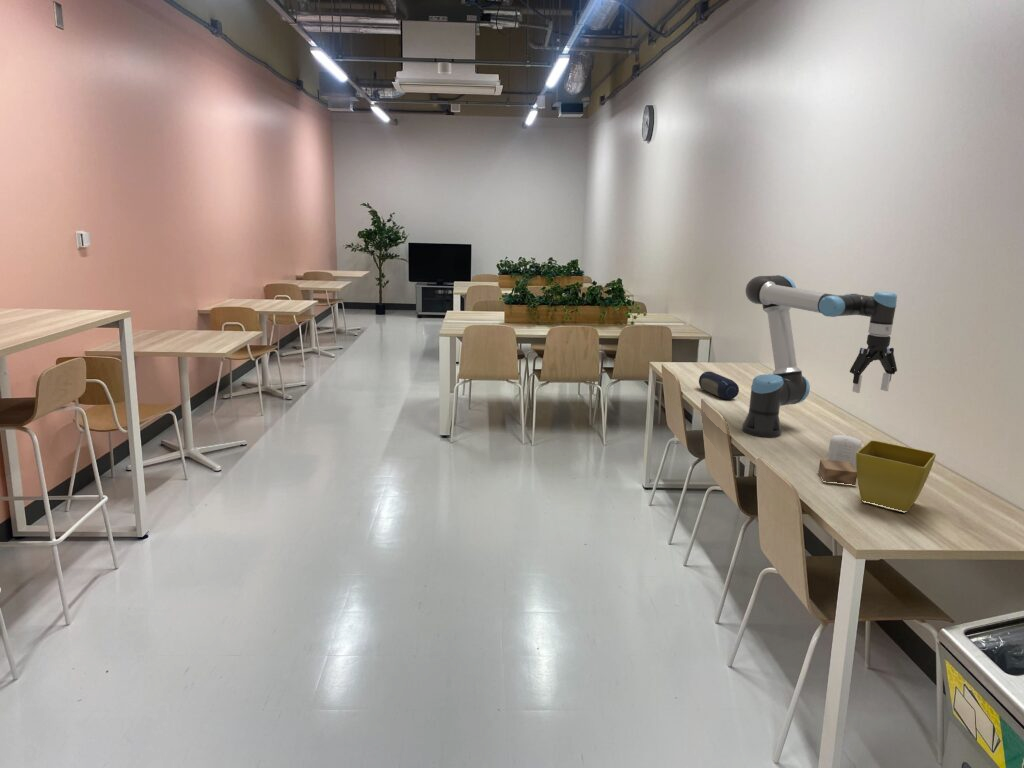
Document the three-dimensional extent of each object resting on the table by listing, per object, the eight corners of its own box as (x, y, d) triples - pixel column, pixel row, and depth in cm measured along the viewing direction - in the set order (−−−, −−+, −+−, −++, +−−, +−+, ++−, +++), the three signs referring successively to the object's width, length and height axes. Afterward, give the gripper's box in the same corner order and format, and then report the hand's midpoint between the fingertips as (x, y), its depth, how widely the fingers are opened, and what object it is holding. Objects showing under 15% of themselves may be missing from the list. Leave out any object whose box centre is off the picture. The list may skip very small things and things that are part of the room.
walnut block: (823, 482, 240) (825, 468, 239) (818, 472, 249) (820, 459, 248) (855, 486, 238) (857, 472, 237) (849, 476, 247) (851, 462, 246)
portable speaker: (694, 389, 363) (696, 370, 361) (711, 388, 366) (713, 369, 364) (722, 402, 340) (724, 381, 338) (740, 401, 343) (742, 381, 340)
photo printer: (858, 470, 254) (863, 437, 251) (857, 473, 250) (862, 440, 247) (826, 464, 258) (831, 431, 255) (825, 467, 255) (830, 434, 252)
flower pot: (863, 486, 238) (871, 438, 234) (927, 502, 226) (937, 452, 222) (847, 503, 224) (855, 452, 220) (915, 521, 212) (924, 468, 208)
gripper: (860, 337, 252) (851, 395, 258) (913, 335, 261) (904, 392, 266) (844, 333, 259) (836, 390, 264) (896, 332, 268) (887, 387, 273)
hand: (870, 391), depth 265 cm, fingers open, 13 cm apart
